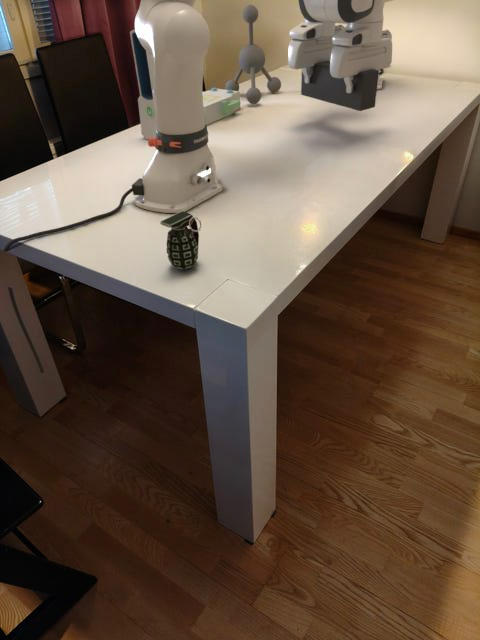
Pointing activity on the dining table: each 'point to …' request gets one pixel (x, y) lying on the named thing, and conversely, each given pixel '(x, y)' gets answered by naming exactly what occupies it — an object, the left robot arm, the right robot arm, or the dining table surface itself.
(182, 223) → the grenade
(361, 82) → the bar
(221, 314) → the dining table surface
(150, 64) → the electronic device
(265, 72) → the molecular model
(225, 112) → the decorative block
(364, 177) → the dining table surface
